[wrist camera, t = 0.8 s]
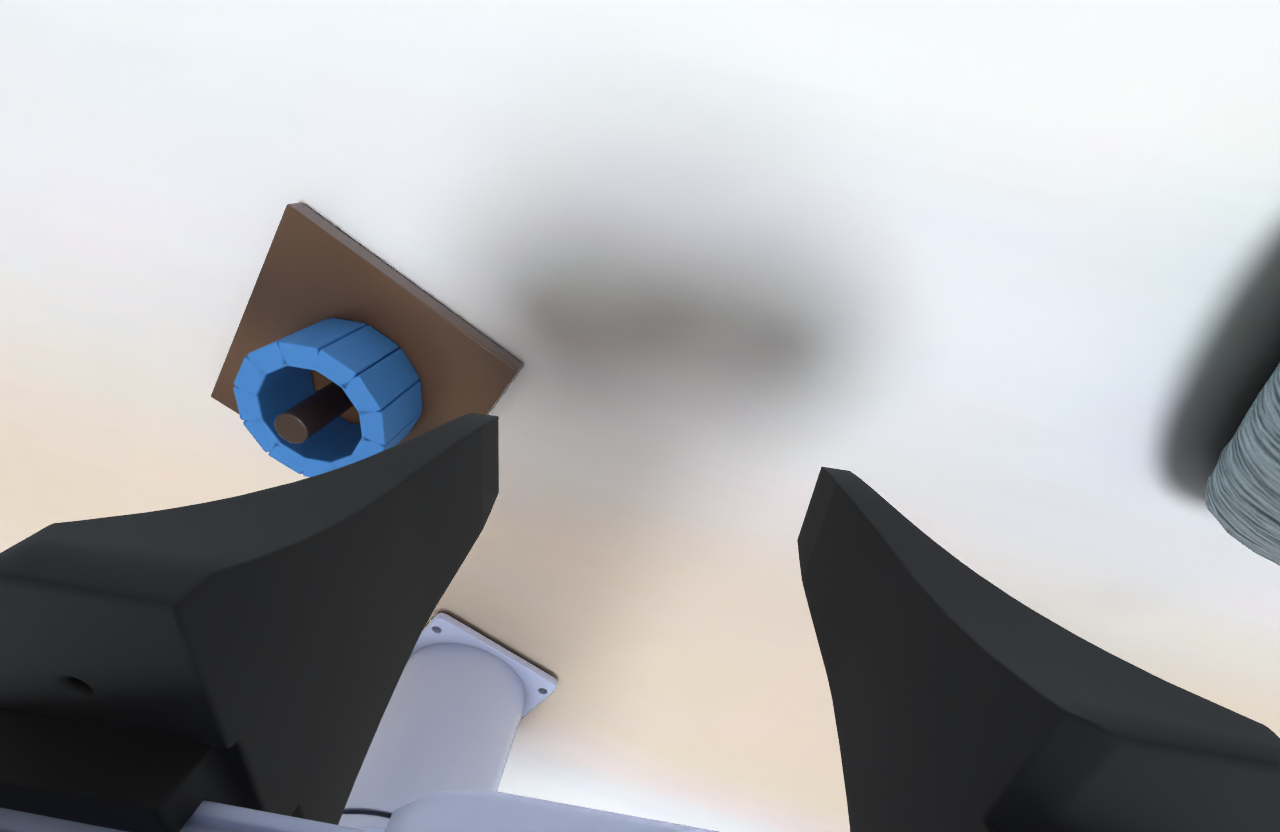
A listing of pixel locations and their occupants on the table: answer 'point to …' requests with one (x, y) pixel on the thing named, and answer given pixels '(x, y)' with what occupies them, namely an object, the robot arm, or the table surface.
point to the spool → (1251, 476)
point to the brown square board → (380, 297)
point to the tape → (350, 361)
